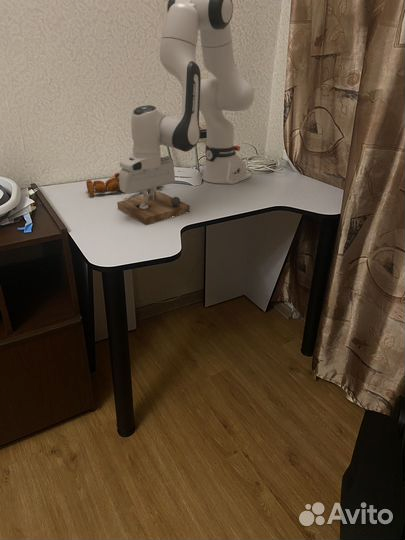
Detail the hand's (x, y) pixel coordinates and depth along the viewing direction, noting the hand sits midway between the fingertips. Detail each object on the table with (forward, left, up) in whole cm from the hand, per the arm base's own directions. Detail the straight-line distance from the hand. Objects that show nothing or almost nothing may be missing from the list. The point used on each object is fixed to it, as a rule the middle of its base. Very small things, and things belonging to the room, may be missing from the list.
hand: (149, 200), depth 136 cm
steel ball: (+2, 0, -2) cm, 3 cm away
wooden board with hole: (-2, 0, -4) cm, 4 cm away
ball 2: (-7, +6, 0) cm, 9 cm away
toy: (-5, -24, -5) cm, 25 cm away
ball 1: (-6, -7, 0) cm, 9 cm away
